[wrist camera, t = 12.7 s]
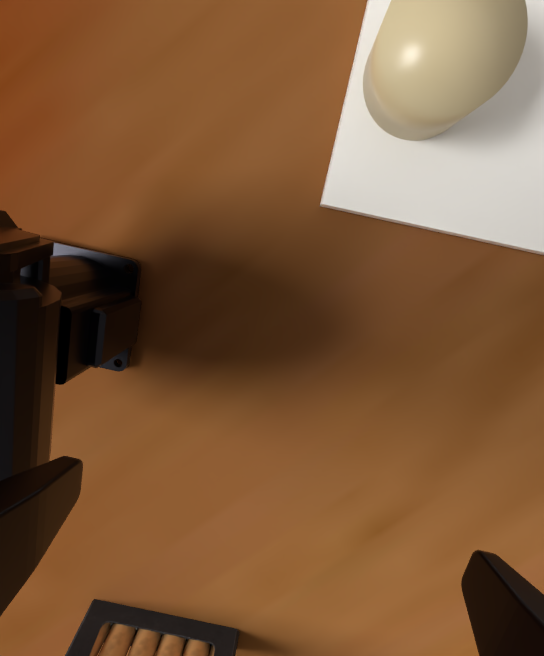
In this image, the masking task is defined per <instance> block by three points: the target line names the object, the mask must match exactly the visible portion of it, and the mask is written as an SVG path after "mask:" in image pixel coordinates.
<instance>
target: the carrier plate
mask: <svg viewBox="0 0 544 656" xmlns="http://www.w3.org/2000/svg"><path fill="white" fill-rule="evenodd" d="M320 206H322V207H326V208H331V209H335V210H340V211H344V212H349V213H354V214H358V215H363V216H367V217H372V218H376V219H381V220H386V221H390V222H395V223H399V224H404V225H408V226H413V227H418V228H422V229H427V230H431V231H436V232H440V233H445V234H450V235H454V236H459V237H463V238H468V239H472V240H477V241H482V242H486V243H491V244H495V245H500V246H504V247H509V248H513V249H518V250H523V251H527V252H532V253H536V254H541V255H544V0H368V1H367V6H366V10H365V14H364V18H363V23H362V27H361V31H360V36H359V40H358V44H357V48H356V53H355V57H354V61H353V66H352V70H351V74H350V78H349V83H348V87H347V91H346V96H345V100H344V104H343V108H342V113H341V117H340V121H339V126H338V130H337V134H336V138H335V143H334V147H333V151H332V156H331V160H330V164H329V168H328V173H327V177H326V181H325V186H324V190H323V194H322V198H321V203H320Z"/></svg>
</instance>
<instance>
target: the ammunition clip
mask: <svg viewBox="0 0 544 656" xmlns="http://www.w3.org/2000/svg"><path fill="white" fill-rule="evenodd" d="M239 633H240V632H239V631H238V629H235V628H230V627H226V626H221V625H216V624H211V623H206V622H202V621H197V620H192V619H187V618H183V617H178V616H173V615H168V614H163V613H159V612H154V611H149V610H144V609H140V608H135V607H130V606H125V605H120V604H116V603H111V602H106V601H101V600H97V599H94V600H93V601H92V603H91V605H90V607H89V609H88V611H87V613H86V615H85V617H84V619H83V621H82V623H81V625H80V627H79V629H78V631H77V633H76V635H75V637H74V639H73V641H72V643H71V645H70V647H69V649H68V651H67V653H66V655H65V656H97V655H98V653H99V651H100V649H101V651H100V653H99V655H98V656H126V655H127V652H128V650H129V647H130V646H131V648H130V651H129V653H128V656H235V654H236V649H237V643H238V638H239ZM103 643H104V644H103ZM102 645H103V646H102ZM101 647H102V648H101ZM156 651H157V652H156ZM155 653H156V655H155Z"/></svg>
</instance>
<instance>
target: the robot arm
mask: <svg viewBox="0 0 544 656" xmlns="http://www.w3.org/2000/svg"><path fill="white" fill-rule="evenodd" d="M129 264H131V265H132V266H133V269H134V270H133V272H132V273H131V272H129V270H128V265H129ZM140 274H141V266H140V264H139V262H138V261H136V260H134V259H131V258H126V257H122V256H117V255H112V254H108V253H103V252H99V251H94V250H90V249H85V248H81V247H76V246H72V245H67V244H63V243H58V242H54V241H51V240H47V239H42V238H40V235H37V234H33V233H30V232H26V231H22V229H21V228H18V227H17V226H16V225H15V223H14V222H13V221H12V219H11V218H10V217H9V215H8V214H7V213H6V211H2V210H0V616H1V615H2V613H3V612H4V611H5V609H6V608H7V606H8V605H9V604H10V602H11V601H12V600H13V598H14V597H15V596H16V594H17V593H18V592H19V590H20V589H21V588H22V586H23V585H24V584H25V582H26V581H27V580H28V578H29V577H30V575H31V574H32V573H33V571H34V570H35V568H36V567H37V565H38V564H39V562H40V560H41V559H42V557H43V556H44V554H45V552H46V551H47V549H48V547H49V546H50V544H51V543H52V541H53V539H54V538H55V536H56V534H57V533H58V531H59V529H60V528H61V526H62V525H63V523H64V521H65V520H66V518H67V516H68V515H69V513H70V511H71V510H72V508H73V507H74V505H75V503H76V502H77V500H78V497H79V495H80V490H81V481H82V471H83V463H82V461H81V460H80V459H77V458H72V457H68V456H63V457H60V458H57V459H54V460H52V461H49V459H50V452H51V439H52V424H53V410H54V396H55V384H59V385H61V384H64V383H66V382H67V381H69V380H71V379H72V378H74V377H76V376H77V375H79V374H80V373H82V372H84V371H85V370H87V369H88V368H90V367H94V368H98V367H100V368H105V369H109V370H114V371H123V370H124V369H126V368H127V367H128V366H129V363H130V356H131V347H132V345H133V344H135V343H136V341H137V333H138V325H139V317H140V309H141V300H140V299H139V297H138V291H139V283H140ZM117 359H120V360H121V361H122V365H120V364H118V362H117ZM461 586H462V592H463V596H464V600H465V603H466V607H467V611H468V615H469V619H470V622H471V626H472V630H473V634H474V637H475V641H476V645H477V649H478V652H479V656H544V595H543V594H542V593H541V592H540V591H539V590H538V589H536V588H535V587H534V586H533V585H532V584H530V583H529V582H528V581H527V580H526V579H525V578H523V577H522V576H521V575H520V574H519V573H518V572H516V571H515V570H514V569H513V568H512V567H510V566H509V565H508V564H507V563H506V562H505V561H503V560H502V559H501V558H500V557H499V556H497V555H496V554H494V553H490V552H485V551H481V550H476V551H475V552H473V554H472V556H471V558H470V560H469V563H468V565H467V567H466V570H465V572H464V574H463V577H462V583H461Z"/></svg>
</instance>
